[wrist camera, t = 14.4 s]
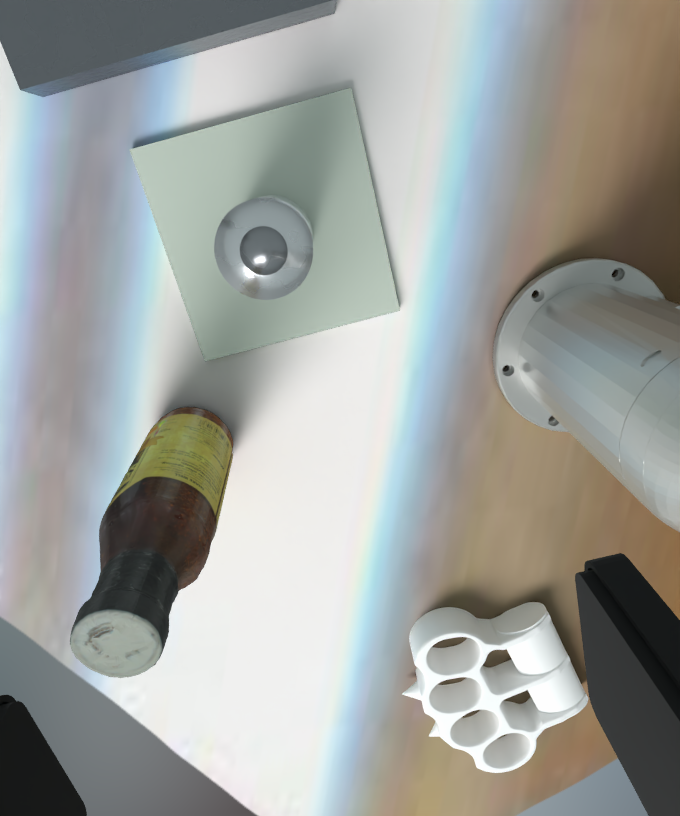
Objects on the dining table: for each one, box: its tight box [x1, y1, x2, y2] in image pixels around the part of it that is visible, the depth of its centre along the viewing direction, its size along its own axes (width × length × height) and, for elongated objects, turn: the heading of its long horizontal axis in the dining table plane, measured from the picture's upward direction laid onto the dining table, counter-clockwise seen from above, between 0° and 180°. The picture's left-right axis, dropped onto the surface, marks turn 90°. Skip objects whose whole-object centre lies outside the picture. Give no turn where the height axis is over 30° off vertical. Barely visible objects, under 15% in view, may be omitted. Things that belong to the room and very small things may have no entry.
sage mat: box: [130, 88, 400, 362], centre depth 39 cm, size 14×14×1 cm
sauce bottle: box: [70, 407, 233, 678], centre depth 35 cm, size 6×6×20 cm
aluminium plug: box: [214, 195, 313, 300], centre depth 34 cm, size 5×5×9 cm
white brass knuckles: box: [403, 602, 588, 773], centre depth 53 cm, size 3×18×15 cm
